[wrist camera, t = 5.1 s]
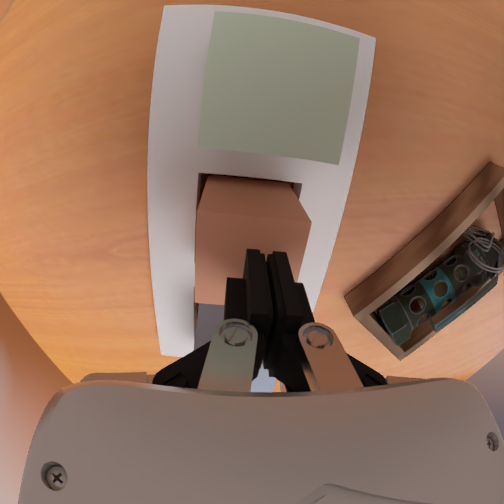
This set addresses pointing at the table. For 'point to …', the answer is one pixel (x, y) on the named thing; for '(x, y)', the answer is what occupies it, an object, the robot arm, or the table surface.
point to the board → (226, 167)
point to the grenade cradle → (427, 261)
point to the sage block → (277, 87)
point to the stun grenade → (445, 287)
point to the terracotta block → (244, 230)
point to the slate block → (204, 331)
